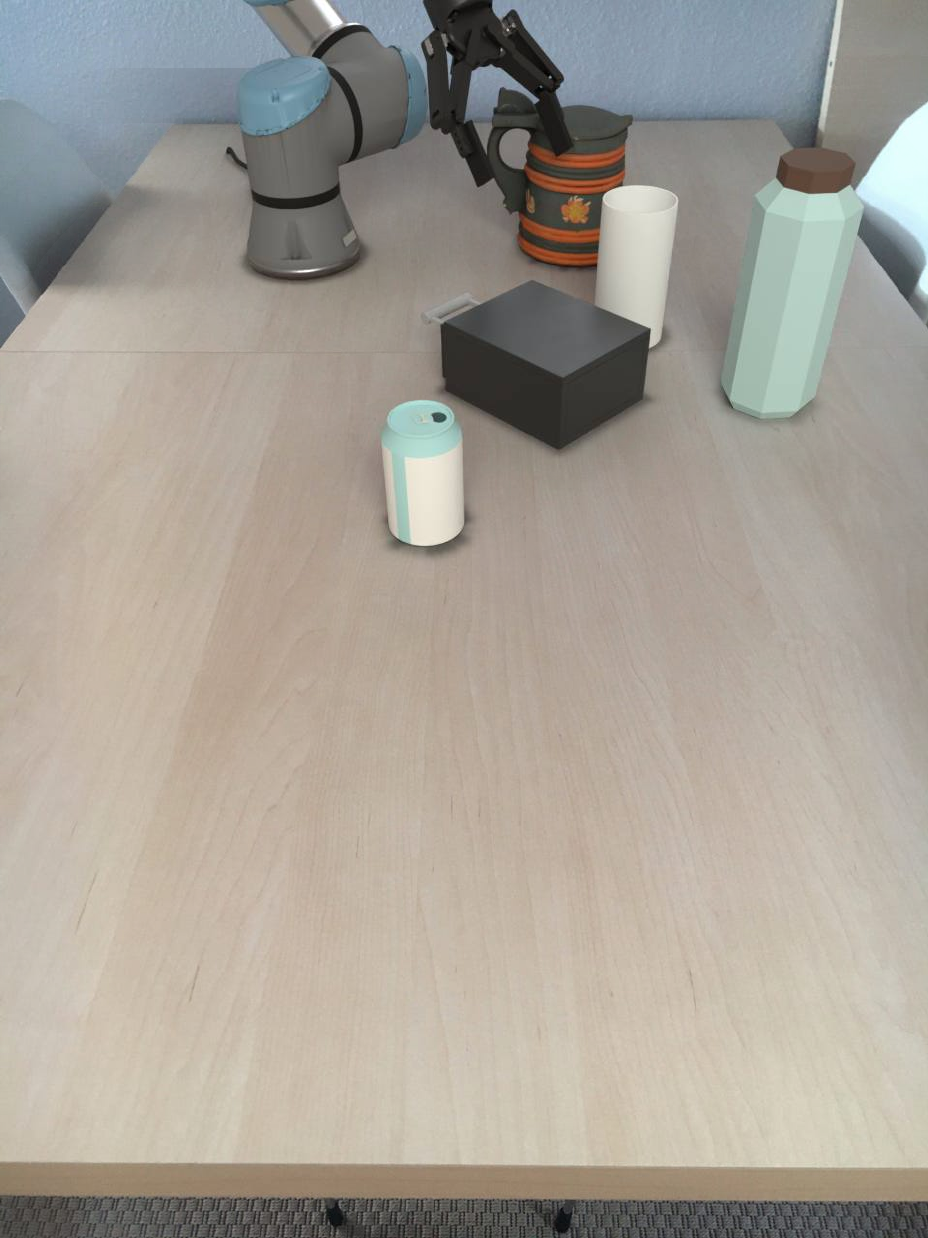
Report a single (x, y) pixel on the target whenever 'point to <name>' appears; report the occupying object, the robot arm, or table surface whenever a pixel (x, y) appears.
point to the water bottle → (791, 282)
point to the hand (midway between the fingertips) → (527, 166)
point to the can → (423, 473)
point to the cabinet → (546, 361)
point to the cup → (636, 254)
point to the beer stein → (559, 177)
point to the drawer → (444, 310)
